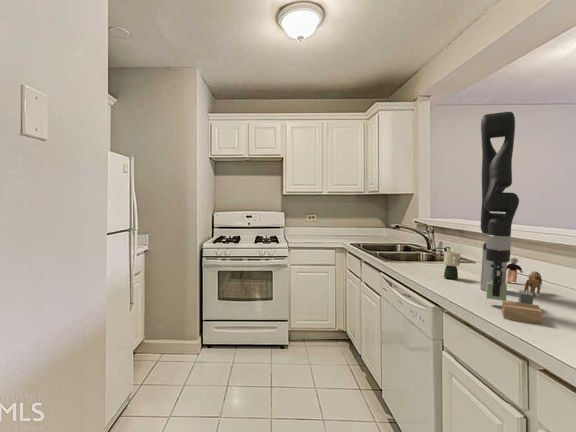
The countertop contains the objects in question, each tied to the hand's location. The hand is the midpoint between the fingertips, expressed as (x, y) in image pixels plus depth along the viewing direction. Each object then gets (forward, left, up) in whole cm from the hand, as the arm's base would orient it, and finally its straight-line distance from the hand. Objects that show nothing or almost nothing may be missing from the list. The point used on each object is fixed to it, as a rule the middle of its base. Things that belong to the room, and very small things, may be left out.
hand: (495, 294), depth 127 cm
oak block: (+11, +7, -4) cm, 14 cm away
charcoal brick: (-4, +10, -4) cm, 11 cm away
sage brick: (0, 0, -1) cm, 1 cm away
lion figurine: (-30, +15, -4) cm, 34 cm away
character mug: (-42, -16, -4) cm, 45 cm away
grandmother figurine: (-50, +10, -4) cm, 51 cm away
